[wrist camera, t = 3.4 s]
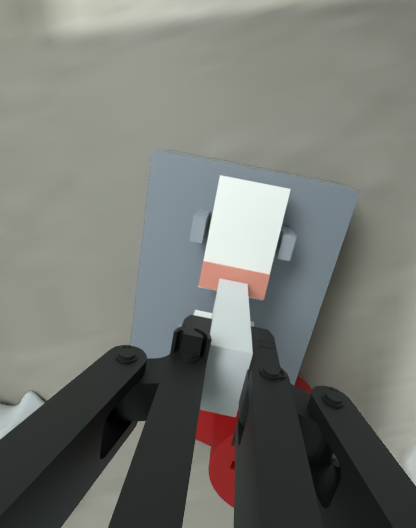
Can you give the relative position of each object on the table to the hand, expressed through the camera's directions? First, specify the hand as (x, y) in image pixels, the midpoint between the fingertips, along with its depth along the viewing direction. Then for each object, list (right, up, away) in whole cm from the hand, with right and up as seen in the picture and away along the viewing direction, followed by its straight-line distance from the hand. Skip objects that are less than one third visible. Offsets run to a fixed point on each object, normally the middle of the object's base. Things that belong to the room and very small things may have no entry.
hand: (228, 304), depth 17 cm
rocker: (+1, +4, 0) cm, 4 cm away
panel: (+1, +2, +8) cm, 9 cm away
